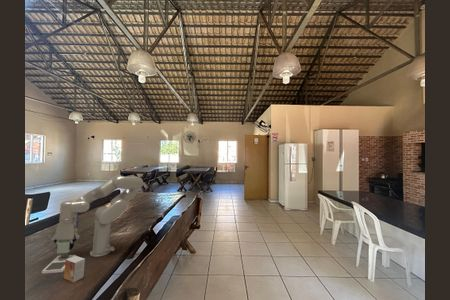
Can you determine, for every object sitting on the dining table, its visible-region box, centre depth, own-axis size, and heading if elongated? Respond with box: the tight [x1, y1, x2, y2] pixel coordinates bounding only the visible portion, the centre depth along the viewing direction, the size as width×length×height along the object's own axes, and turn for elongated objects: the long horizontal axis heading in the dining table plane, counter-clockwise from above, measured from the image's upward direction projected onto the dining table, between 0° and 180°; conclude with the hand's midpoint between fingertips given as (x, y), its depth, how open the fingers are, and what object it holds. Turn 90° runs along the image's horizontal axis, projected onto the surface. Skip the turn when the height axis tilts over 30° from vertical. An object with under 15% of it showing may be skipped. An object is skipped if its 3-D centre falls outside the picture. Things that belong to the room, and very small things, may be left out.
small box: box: [63, 255, 86, 283], centre depth 115 cm, size 8×6×10 cm
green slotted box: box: [56, 239, 71, 254], centre depth 131 cm, size 6×6×6 cm
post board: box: [41, 253, 77, 275], centre depth 127 cm, size 18×10×10 cm, turn 16°
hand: (64, 249), depth 131 cm, fingers closed on green slotted box, 6 cm apart
